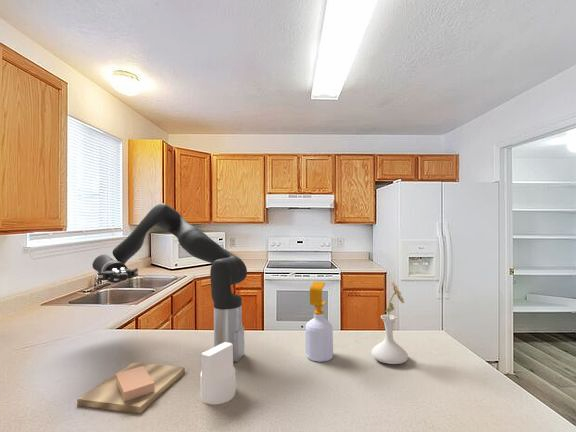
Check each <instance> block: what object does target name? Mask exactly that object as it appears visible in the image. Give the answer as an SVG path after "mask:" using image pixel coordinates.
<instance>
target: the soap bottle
mask: <svg viewBox="0 0 576 432" xmlns="http://www.w3.org/2000/svg"><path fill="white" fill-rule="evenodd" d="M325 285H326V282H324V281H313V282H312V284H311V285H310V287H309V305H311V306H314V308H316V309H315V310H313V318H312V319H310V320H308V322H307V323H306V325H305V356H306V357H307V359H308V360H310V361H313V362H318V363H319V362H321V363H324V362H327V361H328V362H329V361H330V360H332V359H333V357H334V339H333V338H334V334H333V332H334V329H333V325H332V322H330V321H329V320H328V319H326V318H325V314H324V313H325V312H324V310H322V308H323V306H325V305H326V304H327V302H326V301H323V288H324V287H325Z"/></svg>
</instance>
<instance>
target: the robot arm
mask: <svg viewBox="0 0 576 432" xmlns="http://www.w3.org/2000/svg"><path fill="white" fill-rule="evenodd" d="M155 226H157V227H158V228H160V229H162V230H165V231H167V232H169V233H170V234H171V235H173V236H175V237H176V238H177V241H178V244H179V245H180V247H182V248H183V250H184V251H185V252H187V253H188V254H189V255H190V256H192V257H194V258H196V259H198V260H201V261H204V262H207V263H210V264H211V267H210V273H209V275H210V277H209V278H210V280H209V281H210V292H211V299H212V302H213V341H214V342H213V346H214V347H216V346H218V345H220V344H222V343H224V342H228V343H232V344H233V363H234V362H235V363H239V361H240V360H241V359H242V358H243V357H244V355H245V327H244V326H243V317H242V316H243V315H242V314H243V310H242V306H243V305H242V304H243V301H242V297H241V295H239V294H236V293H233V292H232V285H233V286H234V285H236V284H239V283H241V282H243V281H244V280H246V278H247V275H248V268H247V266H246V264H245V262H244V260H243V259H241V258H240V257H238V256H237V255H235V254H234V253H232V252H231V251H228V250H227V249H225V248H224V247H222V246H221V245H220V244H218V243H217V242H216V241H214V240H213V239H212V238H210V237H209V236H208V235H207V234H206V233H205V232H203V231H202V230H201V229H199V228H198V227H197V226H194V225H192V224H190V223H188V220H186V219H185V218H184V217H183V216H182V215H181V213H180V212H178V211H177V210H176V209H174V208H173V207H171V206H170V205H167V204H166V203H162V202H160V203H158V204H157V203H156V205H154V206H153V207H152V208H151V209H150V210H149V212H148V213H147V214H146V215H145V216H144V217H143V218H142V220H140V222H139V223H138V224H137V226H136V227H135V229H133V231H132V232H130V234H129V235H128V236H127V237H126V238H125V239H123V240H122V241H121V242H120V243H119V244H118V245H117V246H115V248H113V250H112V255H113V257H114V258H115V260H114V259H113V258H112V257H110V256H109V255H108V254H100V255H98V256H97V257H96V258H94V260H93V262H92V263H91V264H92V269H93V270H95V271H96V272H97V280H98V281H107V282H109V283H111V284H118V283H122V282H123V281H127V280H128V279H129V280H130V279H132V278H135V277H137V276H139V268H138V267H137V268H136V267H135V268H133V269H131V268H130V269H129V268H128V266H127V265H126V263H127V262H128V261H129V260H130V259H131V258H132V257H133V256H135V254H137V253H138V252H139V251H140V250H141V248H142V247H143V244H144V242H145V238H146V236H147V233H148V232H149V231H150V230H151V229H152V228H153V227H155Z"/></svg>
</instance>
